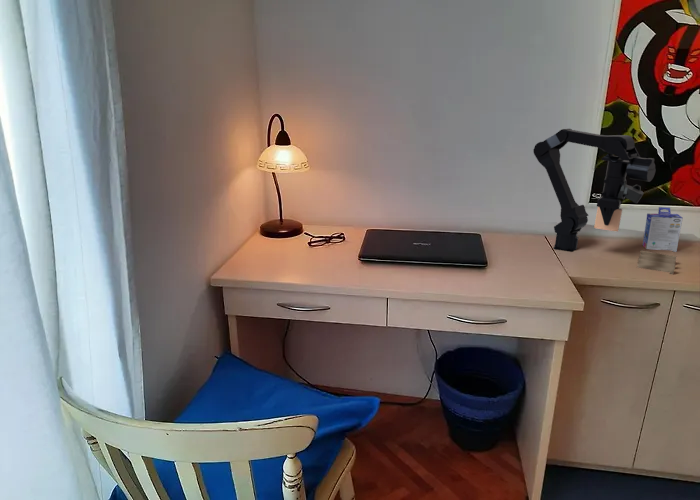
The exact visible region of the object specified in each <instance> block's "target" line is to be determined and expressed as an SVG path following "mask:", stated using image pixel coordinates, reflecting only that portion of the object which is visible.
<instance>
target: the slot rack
mask: <svg viewBox="0 0 700 500" xmlns="http://www.w3.org/2000/svg"><path fill="white" fill-rule="evenodd" d="M639 252H640V253H639V256H638V260H637V264H636V268H638V269H643V270H644V269H645V270H651V271H657V272H662V273H669V275H674V273H675V269H676V261H677V260H676V259H677V256H676V255H670V254H667V253H666V254H664V253H660V252H655V251H654V252H653V251H648V250H640V251H639Z"/></svg>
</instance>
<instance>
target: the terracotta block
mask: <svg viewBox="0 0 700 500" xmlns="http://www.w3.org/2000/svg"><path fill="white" fill-rule="evenodd" d="M622 213H623V208H621V207H620V208H619V209H617V210H615V211H614V213H613V215H612V218H611V220H610V223H609V225H605V224H604V221H603V217H602V214H601V210H600V207H598V206H597V210H596V213H595V214H596V216H595V220H594V226H593V228H594V229H596V230H597V229H599V230H604V231H605V230H606V231H611V232H619V231H620V230H619V229H620V225H621V221H622V220H621V218H622Z"/></svg>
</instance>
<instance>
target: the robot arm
mask: <svg viewBox="0 0 700 500" xmlns="http://www.w3.org/2000/svg"><path fill="white" fill-rule="evenodd" d="M568 143H571V144H578V145H584V146H588V147H592V148H597V149H600V150H602V151H603V152H606V153H607V154H606V155H605V156H603V157H601V159H600V160H601V161H605V162H607V166H606V173H605V178H604V179H603V189H602V192H601V196H600V197H599V198H598V199H597V202H596V207H597V208H598V207H600V210H601V214H602V217H603V221H604V224H605V225H609V223H610V220H611V218H612V215H613V213H614V211H615V210H617V209H619V208H621V205H622V204H623V201H622V200H625V199H627V200H630V201H631V202H633V203H634V204H638V203H639V202H640V200H641V199H642V197H643V195H644V192H643V190H641V185H639V184H635V185H628V184H627V179H626V177H628V179H631V180H637V181H642V182H643V181H644V182H649V183H650V182H651V181H652V180H653V179H654V177H655V174H656V172H657V171H656V170H657V169H656V164H655V158H654V157H653V158H652V157H648V158H646V157H641V155H640V154H639V151H638V150H637V148H636V146H635V145H636V144H635V140H634V139H633V137H632V136H631V135H627V134H625V135H623V134H621V135H620V134H616V135H612V134H611V135H604V134H598V133H592V132H588V131H587V132H586V131H580V130H576V129H572V128H562V129H560V130H559V131H558V132H556V133H555V134H553V135H551V136H549V137H548V138H545V140H543V141H539V142H537V143H536V144H535V145H534V147H533V149H532V150H533V156H535V158H536V159H537V160H536V161H538V163H539V164H540V165H541V166H542V167H543V168H544V169H545V170H546V173H547V175H548V178H549V180H550V184H551V186H552V188H553V191H554V193H555V196H556V198H557V200H558V203H559V206H560V215H559V216H560V220H561V221H560V222H559V223H557V224H555V225H554V226H553V229H554V233H555V235H556V236H555V242H554V247H553V248H552V249H553V250H555V251H556V250H557V251H563V252H570V253H573V252H574V251H576V250H577V249H578V245H579V236H578V233H579V232H581V230H582V229H583V228H584V227H586V225H587V223H588V221H589V219H588V217H589V214H588V212H587V211H586V207H585V205H584V204H580V205H579V204H578V202H576V201H575V198H574V196H573V193H572V190H571V188H570V186H569V183H568V180H567V178H566V175H565V174H564V170H563V168H562V165H561V152H560V150H561V149H562V148H564V147H565V146H566V145H567V144H568Z"/></svg>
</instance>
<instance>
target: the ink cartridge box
mask: <svg viewBox="0 0 700 500" xmlns="http://www.w3.org/2000/svg"><path fill="white" fill-rule="evenodd" d="M663 210H666V211H663ZM657 212H658V213H647V214H646V220H645V226H644V235H643V240H642V246H643V247H644V249H646V250H657V251H672V252H673V253H677V251H678V247H679V246H678V245H679V240H680V234H681V229H682V222H683V217H682V216H681V214H678V213H671V207H660V206H659V207H658V211H657Z"/></svg>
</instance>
